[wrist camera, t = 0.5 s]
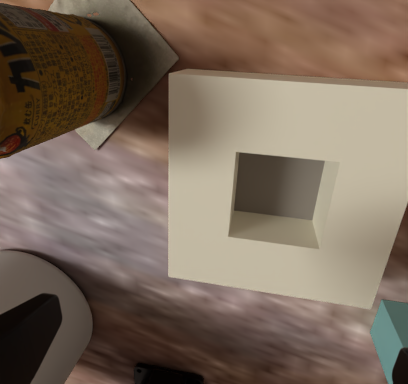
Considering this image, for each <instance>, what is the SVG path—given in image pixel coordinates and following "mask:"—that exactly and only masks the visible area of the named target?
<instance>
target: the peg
mask: <svg viewBox="0 0 408 384" xmlns="http://www.w3.org/2000/svg"><path fill="white" fill-rule="evenodd" d="M370 334H371V337H372V339H373V342H374V345H375V348H376V351H377V353H378V356H379V359H380V362H381V365H382V368H383V370H384V373H385V376H386V379H387V382H388V384H393V381H392V370H393V367H394V364H395V362H396V359H397V356H398V353H399V351H400V349H401V348H403V347H407V348H408V303H402V302H395V301H389V300H381V303H380V306H379V309H378V312H377V314H376V317H375V320H374V323H373V326H372V328H371V331H370Z"/></svg>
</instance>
